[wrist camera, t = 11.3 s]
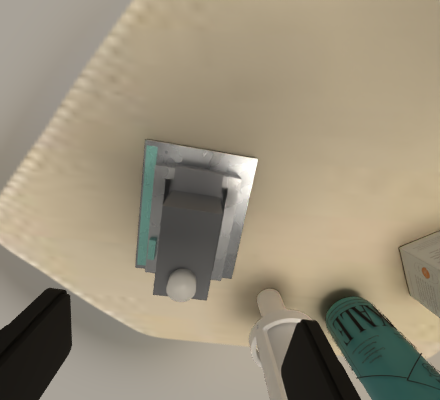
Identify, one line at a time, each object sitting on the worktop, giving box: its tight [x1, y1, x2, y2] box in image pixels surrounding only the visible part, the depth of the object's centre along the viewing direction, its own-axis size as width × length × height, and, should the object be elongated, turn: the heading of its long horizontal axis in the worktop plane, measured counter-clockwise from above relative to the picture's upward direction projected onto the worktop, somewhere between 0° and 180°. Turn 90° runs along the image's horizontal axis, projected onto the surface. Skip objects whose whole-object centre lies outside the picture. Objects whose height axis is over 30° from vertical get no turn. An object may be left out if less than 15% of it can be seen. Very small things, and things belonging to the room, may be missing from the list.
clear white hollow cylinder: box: [249, 289, 312, 400], centre depth 20 cm, size 7×7×15 cm
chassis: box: [135, 139, 258, 281], centre depth 22 cm, size 14×11×4 cm
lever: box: [153, 165, 224, 302], centre depth 19 cm, size 11×4×9 cm, turn 170°
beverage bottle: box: [326, 297, 440, 400], centre depth 19 cm, size 6×7×20 cm
